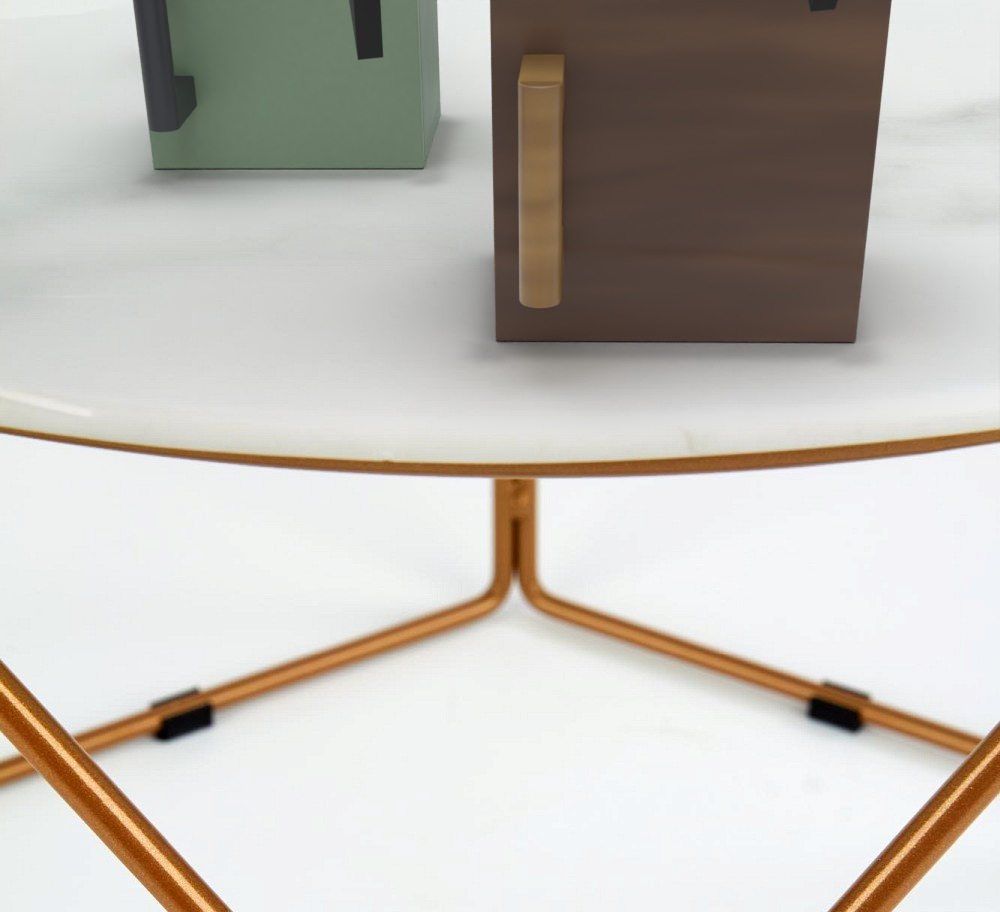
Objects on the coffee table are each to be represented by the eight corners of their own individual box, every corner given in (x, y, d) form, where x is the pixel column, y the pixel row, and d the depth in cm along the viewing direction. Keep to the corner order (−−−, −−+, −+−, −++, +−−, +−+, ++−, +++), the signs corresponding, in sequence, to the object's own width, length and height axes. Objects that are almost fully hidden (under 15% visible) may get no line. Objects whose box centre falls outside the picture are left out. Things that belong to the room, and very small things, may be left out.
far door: (414, 197, 88) (402, -116, 80) (131, 197, 89) (90, -113, 81) (424, 164, 93) (413, -133, 85) (156, 165, 94) (120, -130, 86)
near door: (873, 392, 66) (919, -16, 58) (488, 390, 66) (480, -13, 58) (853, 335, 71) (893, -47, 63) (496, 334, 72) (490, -44, 63)
